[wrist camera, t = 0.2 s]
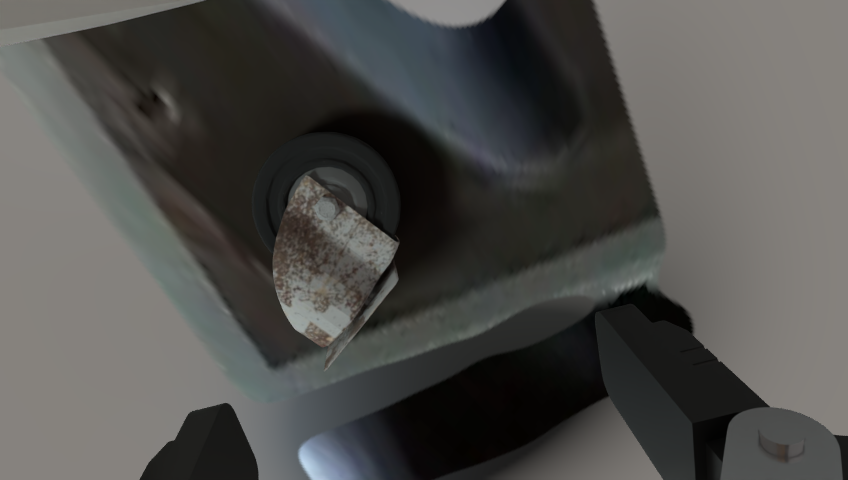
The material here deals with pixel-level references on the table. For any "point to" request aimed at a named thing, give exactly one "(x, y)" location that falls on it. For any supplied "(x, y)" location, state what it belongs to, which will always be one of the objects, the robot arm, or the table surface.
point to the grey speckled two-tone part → (328, 233)
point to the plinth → (70, 16)
